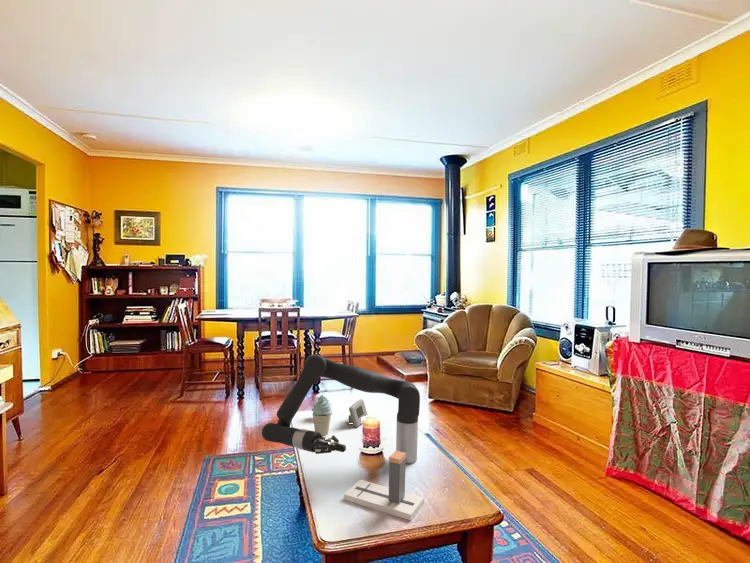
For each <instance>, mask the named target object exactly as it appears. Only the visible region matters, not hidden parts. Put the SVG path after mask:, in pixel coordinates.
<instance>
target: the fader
mask: <svg viewBox="0 0 750 563" xmlns="http://www.w3.org/2000/svg"><path fill="white" fill-rule="evenodd" d="M388 462H389V465H388V466H389V467H388V488H389V501H392V502H396V503H400V502H401V500H402V499H403V498H404V497H405V492H406V453H404V452H400V451H396V450H395V451H394V452H392V453H391V455H389V457H388Z"/></svg>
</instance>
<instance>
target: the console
mask: <svg viewBox="0 0 750 563" xmlns="http://www.w3.org/2000/svg"><path fill="white" fill-rule="evenodd" d="M343 500H345V501H347V502H350V503H354V504H357V505H361V506H363V507H366V508H369V509H374V510H376V511H380V512H382V513H386V514H388V515H391V516H396V517H398V518H402V519H405V520H409V521H412V520H413V519H414V517H415V516H416V514H417V513H418V512H419V511H420V509H421V508H422V506H423V505H424V503H425V497H423V496H420V495H416V494H412V493H409V492H406V491H405V497H404V498H403V499H402V500H401V502H400V503H396V502H392V501H389V486H388V487H387V486H384V485H380V484H377V483H374V482H371V481H370V482H369V481H367V480H363V479H359V480H358V481H357V482H356V483H355V484H353V485H352V486H351V487H350V488H349V489H348V490H347V491H346V492H345V493H343Z"/></svg>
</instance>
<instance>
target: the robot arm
mask: <svg viewBox="0 0 750 563" xmlns="http://www.w3.org/2000/svg"><path fill="white" fill-rule="evenodd" d="M300 373H301V374H300V376H299V377H298V378H297V380H296V383H295V384H294V385H293V387H292V389H291V390H290V392H288V394H287V396H286V397H285V399H284V400H283V401H282V403H281V405H280V406H279V408H278V410H277V412H276V417H277V419H278V420H277V422H276V423H274V422H268V423H266V424H265V425H263V427H262V429H261V436H262V438H263V440H265V441H267V442H270V443H271V442H272V443H275V444H276V443H278V444H283V445H286V446H288V447H293V448H296V449H298V450H303V451H305V452H309V453H310V452H311V453H315V454H316V455H317V454H318V455H320V454H330V453H332V452H335V451H336V452H341V453H344V452H345V451H346V450H347V446H346V444H342V443H340V442H339V439H338V438H337V437H336V436H335V435H334V434H333V435H331V437H327V436H321V434H320V433H319V432H315V430H310V429H309V430H308V429H304V428H296V427H291V423H292V420H293V419H294V417H295V416H296V414H297V412H298V411H299V409H300V408H301V405H302V404H303V403H304V400H305V399H306V397H307V394H309V391H311V389H312V388H313V386H314V385H315V383H316V382H317V381H318V380H319V379H320V378H321V377H322V378H326V379H331V380H334V381H336V382H338V383H340V384H341V385H344V386H346V387H349V388H352V389H354V390H357V391H360V392H361V391H362V392H365V393H371V394H385V395H388V396H391V397H393V398H395V399H398V403H397V406H398V407H397V408H398V409H397V413H396V430H395V431H396V440H395V442H396V443H395V445H396V446H395V451H400V452H404V453H406V464H414V463H415V462H417V461H418V437H419V436H418V434H419V433H418V432H419V431H418V430H419V428H418V427H419V416H420V405H421V396H420V395H421V394H420V391H419V389H418V388H417V387H416V385H415V384H414V383H412V382H411V381H406V380H402V379H396V378H392V377H388V376H385V375H382V374H380V373H377V372H375V371H371V370H368V369H365V368H363V367H358V366H355V365H350V364H346V363H345V364H343V363H339V362H336V361H333V360H332V359H328V358H326V357H324V356H322V355H320V354H314V353H313V354H311V355H309V356H308V357H307V358H306V359H305V360H304V364H303V369H302V371H301V372H300Z"/></svg>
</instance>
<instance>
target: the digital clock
mask: <svg viewBox="0 0 750 563" xmlns="http://www.w3.org/2000/svg"><path fill="white" fill-rule="evenodd" d="M348 410H349V415H348V423H353V424H354V425H353V426H354V428H358V427H360V426H361V425H362V424H361V417H363V416H366V415H368V416H369V413H368V411H367V408H366V405H365V401H364V399H363V398H360V399H359V400H356V402H354V403H353V404H352V405H351V406H349V408H348ZM360 424H361V425H360ZM359 425H360V426H359Z"/></svg>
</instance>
